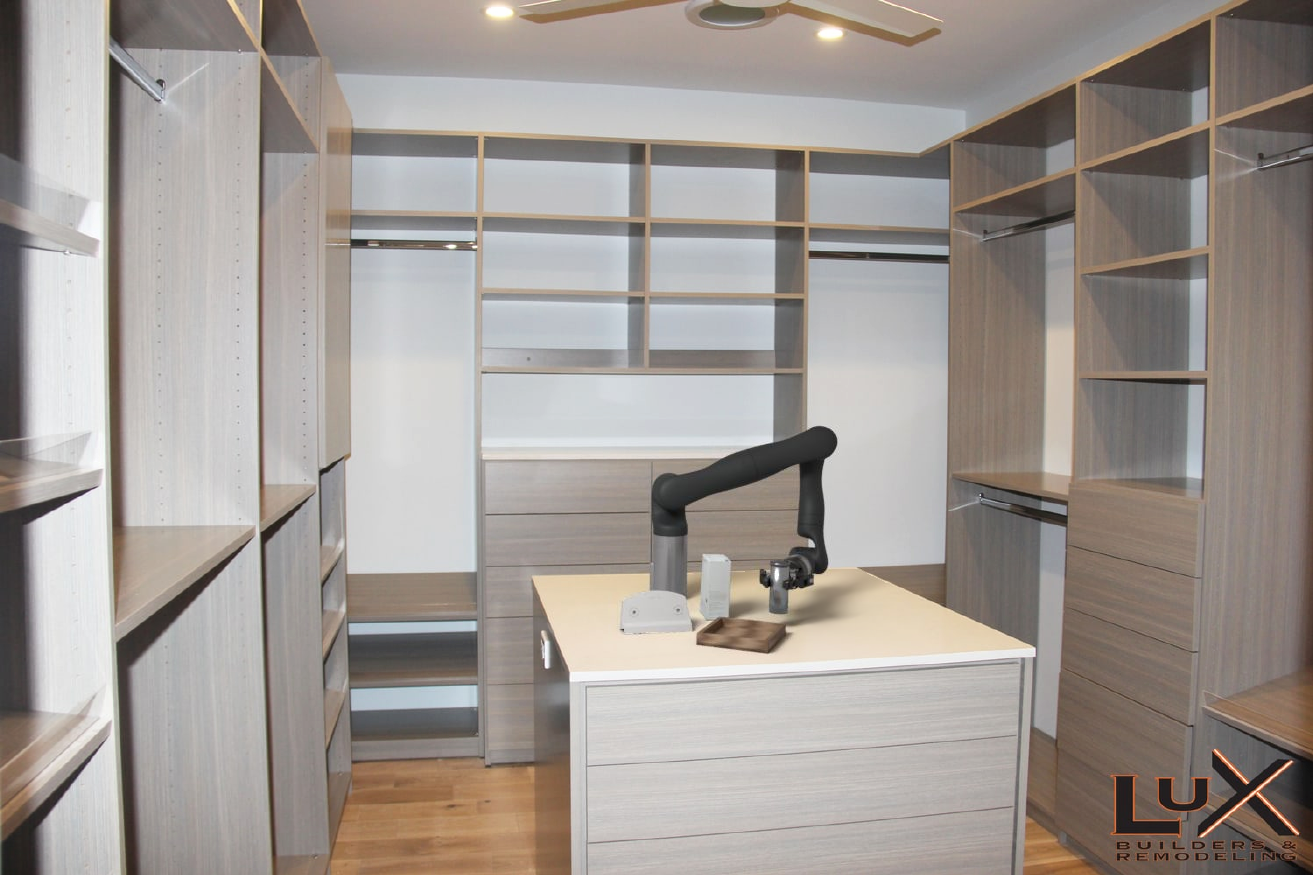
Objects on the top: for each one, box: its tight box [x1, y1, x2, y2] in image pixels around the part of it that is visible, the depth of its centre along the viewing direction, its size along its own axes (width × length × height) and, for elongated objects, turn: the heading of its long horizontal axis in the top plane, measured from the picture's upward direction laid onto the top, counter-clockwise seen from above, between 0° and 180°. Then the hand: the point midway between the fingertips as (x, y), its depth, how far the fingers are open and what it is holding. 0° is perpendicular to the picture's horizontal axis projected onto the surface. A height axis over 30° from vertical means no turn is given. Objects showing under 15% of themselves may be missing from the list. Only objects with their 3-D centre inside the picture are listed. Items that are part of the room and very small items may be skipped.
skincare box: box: [699, 553, 732, 621], centre depth 222 cm, size 8×6×15 cm
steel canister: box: [768, 559, 790, 615], centre depth 213 cm, size 5×5×12 cm
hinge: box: [619, 590, 693, 634], centre depth 210 cm, size 17×5×10 cm, turn 103°
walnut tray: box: [695, 616, 787, 654], centre depth 202 cm, size 16×16×2 cm
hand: (776, 584), depth 210 cm, fingers closed on steel canister, 4 cm apart
